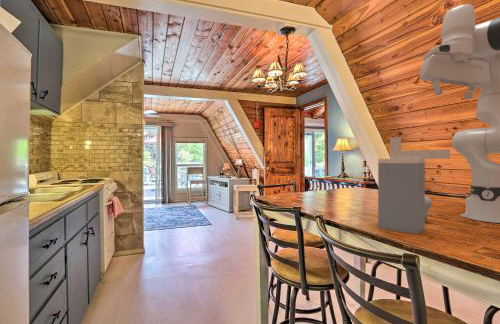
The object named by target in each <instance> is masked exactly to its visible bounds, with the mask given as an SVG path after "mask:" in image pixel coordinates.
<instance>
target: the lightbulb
mask: <svg viewBox="0 0 500 324" xmlns="http://www.w3.org/2000/svg"><path fill="white" fill-rule="evenodd" d="M432 205H433V201H432V199H431V198H430V197H429V196H427V195H425V222H427V221H428V220H427V219H428V215H429V211H430V209H431V208H432Z"/></svg>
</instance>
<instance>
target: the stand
mask: <svg viewBox="0 0 500 324" xmlns="http://www.w3.org/2000/svg"><path fill="white" fill-rule="evenodd" d="M425 160H426V159H390V158H378V160H377V161H378V162H377V164H378V165H377V167H378V170H377V172H378V173H377V174H378V177H377V179H378V181H377V183H378V184H377V186H378V187H377V189H378V190H377V193H378V195H377V198H378V199H377V201H378V202H377V203H378V204H377V205H378V206H377V207H378V208H377V209H378V210H377V213H378V214H377V215H378V218H377V219H378V221H377V223H378V224H377V226H378V227H377V228H378V229H381V230H388V231H389V230H390V231H395V232H402V233H407V234H413V235H419V234H420V233H422V232H423V231H424V230H425V228H426V227H425V226H426V225H425V224H426V223H425V222H426V221H425V196H426V193H425V192H426V190H425V188H426V186H425V185H426V184H425V183H426V180H425V179H426V177H425V176H426V175H425V173H426V171H425V169H426V168H425V167H426V161H425Z"/></svg>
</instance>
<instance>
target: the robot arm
mask: <svg viewBox="0 0 500 324" xmlns="http://www.w3.org/2000/svg"><path fill="white" fill-rule="evenodd" d="M440 39H441V44H438V45H435V46H434V47H432V48H431V49H430V50H429V51H427V52H426V53H425V54H424V55H423V57H422V58H423V59H422V60H423V61H422V63H421V65H420V69H419V78H420V80H421V81H425V82H431V83H430V85H431V87H432V88H433V90H434V92H433V94H434V95H436V96H440V95H442V94H443V93H444V92H443V91H444V88H443V87H441V86H440V84H439V83H441V84H447V85H456V86H461V87H462V86H463V87H467V90H468V91H467V92H465V93H464V94H463V95H464V96H463V99H464V100H471V99H473V97H474V93H475V91H476V90H477V89H480V90H479V93H478V98H477V104H476V110H475V112H476V113H475V116H476V119H477V120H479V121H480V122H481V123H485V124H487V125H491V126H489V127H481V128H479V127H477V128H468V129H464V130H460V131H457V132H455V134H453V137H452V139H451V146H452V148H453V149H454V151H455V152H457V154H460V155H461V156H463V157H464V159H466V161H467V162H468V164H469V167H470V170H471V171H470V172H471V185H470V189H469V190H470V195H469V196H468V197H467V198H466V199H465V212H464V213H461V214H460V217H462V218H466V219H469V220H470V219H471V220H474V221H479V222H484V223H485V222H486V223H498V224H500V163H498V162H496V161H493V160H491V159H490V158H489V156H488V155H489V154H500V16H499V17H497V18H494V19H491V20H487V21H484V22H481V23H477V24H476V12H475V7H474V5H473V4H470V3H469V4H466V3H465V4H460V5H456V6H454V7H452V8H450V9H449V10H447V11H446V12H445V14H444V16H443V21H442V25H441V31H440Z"/></svg>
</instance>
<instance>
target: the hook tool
mask: <svg viewBox="0 0 500 324" xmlns="http://www.w3.org/2000/svg"><path fill="white" fill-rule="evenodd" d="M450 157H451V149H426V150H425V149H420V150H419V149H418V150H417V149H414V150H402V137H401V136H399V137H398V136H397V137H395V136H394V137H389V159H425V160H431V159H432V160H435V159H436V160H442V159H443V160H445V159H446V160H448V159H451V158H450Z"/></svg>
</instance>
